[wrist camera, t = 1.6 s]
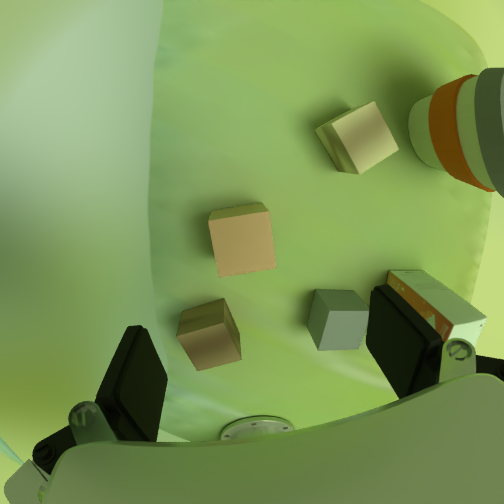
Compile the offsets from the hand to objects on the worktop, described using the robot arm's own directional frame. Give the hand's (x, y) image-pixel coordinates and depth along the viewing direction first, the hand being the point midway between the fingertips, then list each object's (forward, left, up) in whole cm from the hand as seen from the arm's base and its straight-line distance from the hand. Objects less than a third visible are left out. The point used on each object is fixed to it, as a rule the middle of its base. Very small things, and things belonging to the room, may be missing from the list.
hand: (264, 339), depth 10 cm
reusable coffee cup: (+9, -25, -18) cm, 32 cm away
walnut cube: (-10, +5, -18) cm, 21 cm away
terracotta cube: (0, 0, -18) cm, 18 cm away
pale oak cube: (+8, -12, -18) cm, 23 cm away
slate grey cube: (-11, -9, -18) cm, 23 cm away
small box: (-12, -19, -18) cm, 29 cm away
